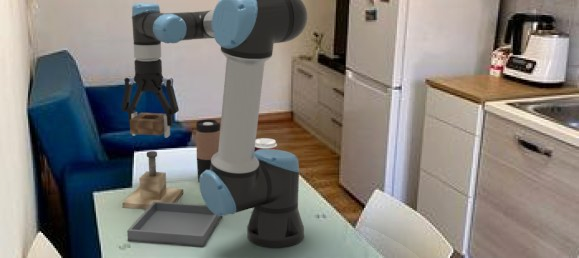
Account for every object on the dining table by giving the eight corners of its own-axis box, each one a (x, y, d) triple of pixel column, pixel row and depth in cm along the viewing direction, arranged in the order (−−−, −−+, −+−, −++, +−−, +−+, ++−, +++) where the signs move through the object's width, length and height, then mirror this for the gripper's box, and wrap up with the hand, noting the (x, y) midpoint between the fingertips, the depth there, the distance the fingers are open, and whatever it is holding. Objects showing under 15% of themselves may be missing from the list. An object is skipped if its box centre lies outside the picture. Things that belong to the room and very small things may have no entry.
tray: (222, 216, 181) (221, 206, 180) (203, 247, 162) (202, 236, 161) (154, 211, 183) (153, 201, 182) (127, 241, 164) (127, 230, 163)
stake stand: (183, 193, 197) (181, 147, 193) (168, 210, 184) (167, 161, 180) (139, 190, 199) (137, 144, 195) (122, 207, 185) (119, 158, 182)
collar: (170, 127, 189) (170, 114, 188) (160, 135, 180) (160, 121, 179) (141, 125, 190) (141, 112, 189) (130, 133, 182) (129, 120, 181)
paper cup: (273, 186, 204) (274, 145, 200) (250, 184, 205) (250, 143, 202) (278, 178, 211) (279, 138, 208) (256, 176, 213) (256, 136, 209)
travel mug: (194, 184, 205) (192, 124, 200) (201, 176, 212) (200, 118, 207) (217, 186, 204) (216, 126, 198) (223, 178, 211) (222, 120, 206)
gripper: (189, 58, 182) (191, 133, 188) (116, 55, 185) (120, 130, 191) (181, 62, 175) (183, 141, 181) (105, 59, 178) (110, 136, 184)
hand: (151, 135), depth 186 cm, fingers closed on collar, 9 cm apart
